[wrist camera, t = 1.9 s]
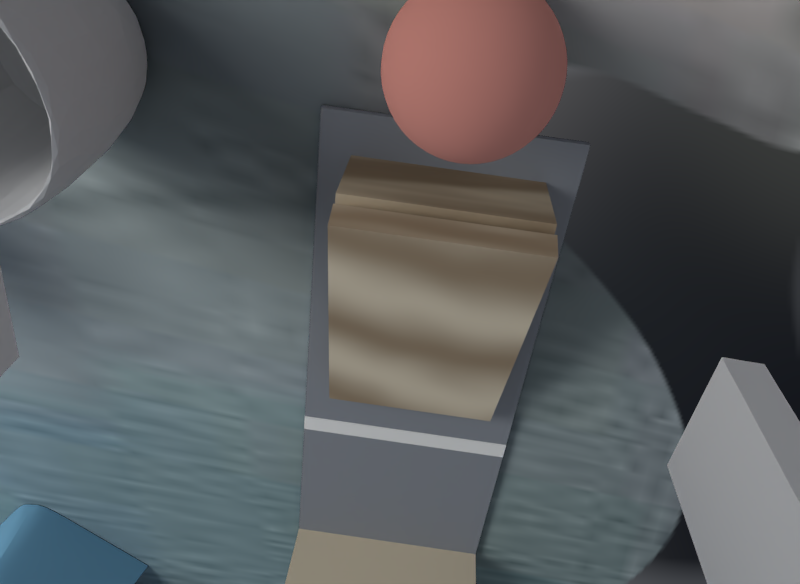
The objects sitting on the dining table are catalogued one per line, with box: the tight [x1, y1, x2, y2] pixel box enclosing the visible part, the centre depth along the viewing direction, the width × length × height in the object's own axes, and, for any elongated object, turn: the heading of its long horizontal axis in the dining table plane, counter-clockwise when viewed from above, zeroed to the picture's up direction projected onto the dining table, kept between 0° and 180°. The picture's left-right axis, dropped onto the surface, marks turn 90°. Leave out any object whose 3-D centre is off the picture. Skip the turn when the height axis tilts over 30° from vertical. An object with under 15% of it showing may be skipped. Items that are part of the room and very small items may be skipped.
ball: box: [381, 0, 567, 164], centre depth 22 cm, size 6×6×6 cm
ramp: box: [328, 155, 558, 421], centre depth 32 cm, size 14×9×6 cm, turn 174°
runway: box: [285, 105, 590, 584], centre depth 35 cm, size 30×12×6 cm, turn 174°
